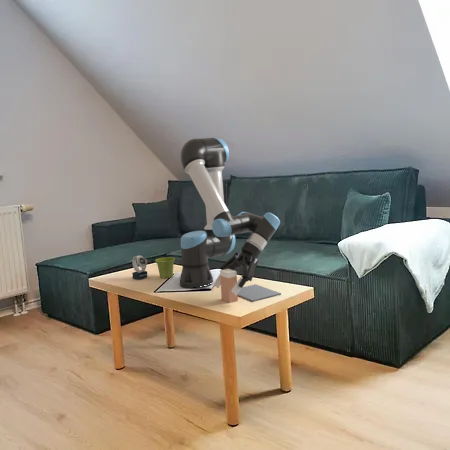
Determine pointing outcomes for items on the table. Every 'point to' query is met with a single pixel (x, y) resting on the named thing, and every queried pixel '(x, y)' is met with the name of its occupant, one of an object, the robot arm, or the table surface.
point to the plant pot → (165, 267)
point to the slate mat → (256, 293)
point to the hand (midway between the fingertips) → (224, 289)
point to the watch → (139, 273)
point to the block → (228, 285)
